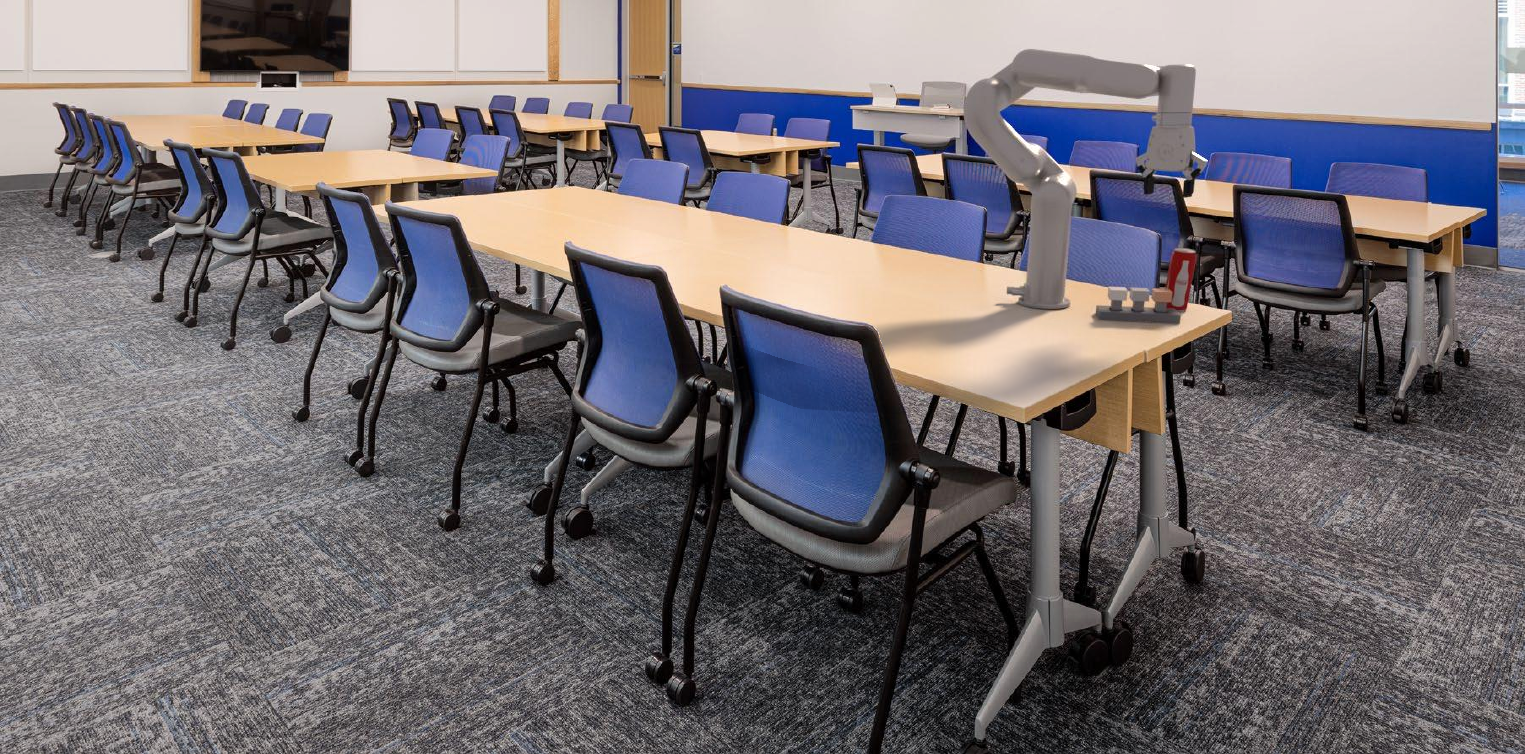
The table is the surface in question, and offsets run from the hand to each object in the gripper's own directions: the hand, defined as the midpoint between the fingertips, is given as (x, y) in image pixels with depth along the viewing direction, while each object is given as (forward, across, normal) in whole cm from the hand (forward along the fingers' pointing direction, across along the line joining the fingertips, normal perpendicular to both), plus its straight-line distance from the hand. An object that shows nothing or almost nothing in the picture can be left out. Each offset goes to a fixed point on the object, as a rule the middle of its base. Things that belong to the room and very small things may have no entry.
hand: (1167, 195), depth 243 cm
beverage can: (+29, +1, +8) cm, 30 cm away
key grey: (+26, -1, -8) cm, 27 cm away
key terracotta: (+26, +3, -5) cm, 27 cm away
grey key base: (+28, -1, -8) cm, 29 cm away
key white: (+26, -4, -12) cm, 29 cm away
